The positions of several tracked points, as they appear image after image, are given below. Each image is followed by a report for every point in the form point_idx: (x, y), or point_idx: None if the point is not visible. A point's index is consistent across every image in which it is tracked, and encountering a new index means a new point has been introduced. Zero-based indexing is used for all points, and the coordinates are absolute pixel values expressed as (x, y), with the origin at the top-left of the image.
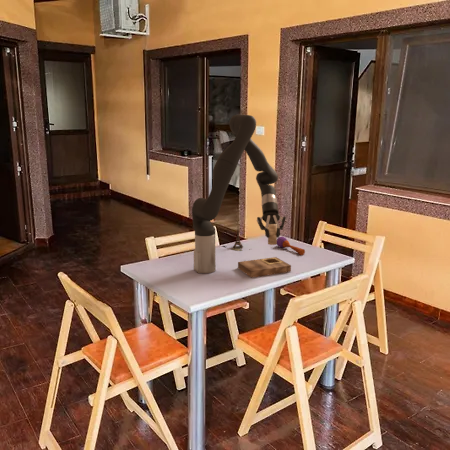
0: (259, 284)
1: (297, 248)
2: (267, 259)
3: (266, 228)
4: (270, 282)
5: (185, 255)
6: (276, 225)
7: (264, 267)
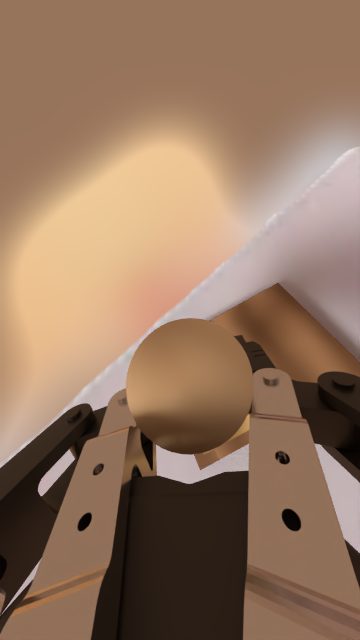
0: (241, 257)
1: None
2: None
3: (267, 369)
4: (216, 273)
5: None
6: (138, 349)
7: (239, 320)
